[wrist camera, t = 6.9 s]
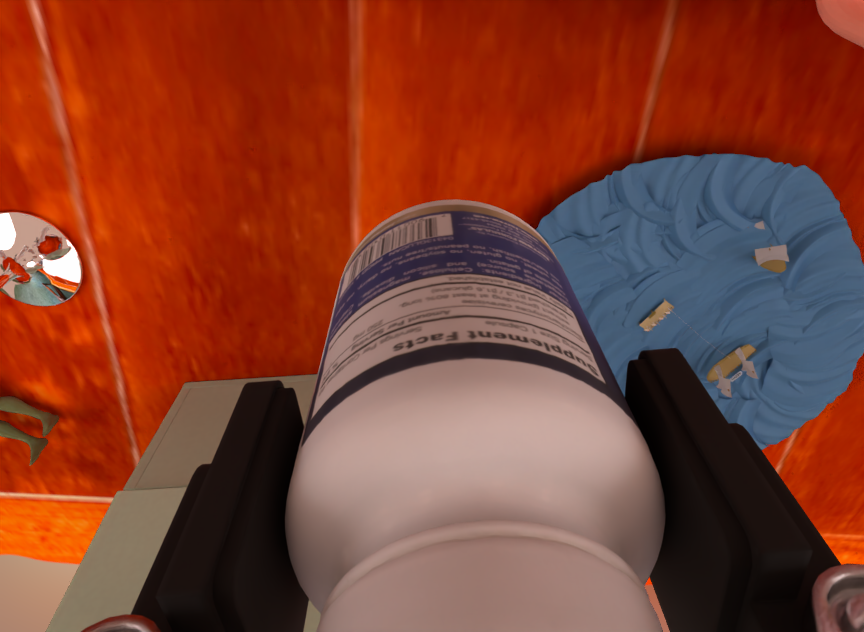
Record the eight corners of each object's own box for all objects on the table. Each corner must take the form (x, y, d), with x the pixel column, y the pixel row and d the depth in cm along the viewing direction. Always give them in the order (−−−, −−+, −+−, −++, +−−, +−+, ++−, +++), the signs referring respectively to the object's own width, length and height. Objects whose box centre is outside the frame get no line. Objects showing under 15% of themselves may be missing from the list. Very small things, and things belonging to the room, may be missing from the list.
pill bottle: (526, 406, 16) (641, 888, 8) (325, 372, 16) (211, 859, 7) (597, 219, 14) (889, 643, 5) (359, 169, 13) (240, 560, 4)
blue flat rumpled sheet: (717, 496, 58) (741, 542, 54) (429, 407, 52) (429, 451, 48) (967, 237, 44) (1027, 272, 39) (608, 72, 38) (631, 90, 33)
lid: (334, 717, 28) (317, 669, 25) (4, 732, 28) (-47, 686, 26) (359, 485, 39) (348, 434, 36) (121, 498, 39) (93, 449, 37)
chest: (390, 482, 56) (381, 599, 45) (222, 492, 56) (176, 609, 46) (373, 370, 49) (359, 475, 39) (184, 382, 50) (122, 489, 40)
